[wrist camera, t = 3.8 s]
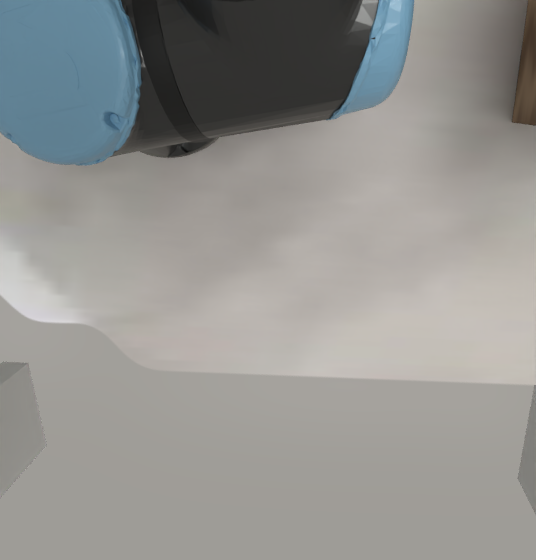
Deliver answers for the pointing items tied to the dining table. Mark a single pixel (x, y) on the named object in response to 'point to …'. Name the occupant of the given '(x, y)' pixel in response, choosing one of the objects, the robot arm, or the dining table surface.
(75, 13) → the robot arm
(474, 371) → the dining table surface
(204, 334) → the dining table surface
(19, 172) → the dining table surface
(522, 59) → the stand
